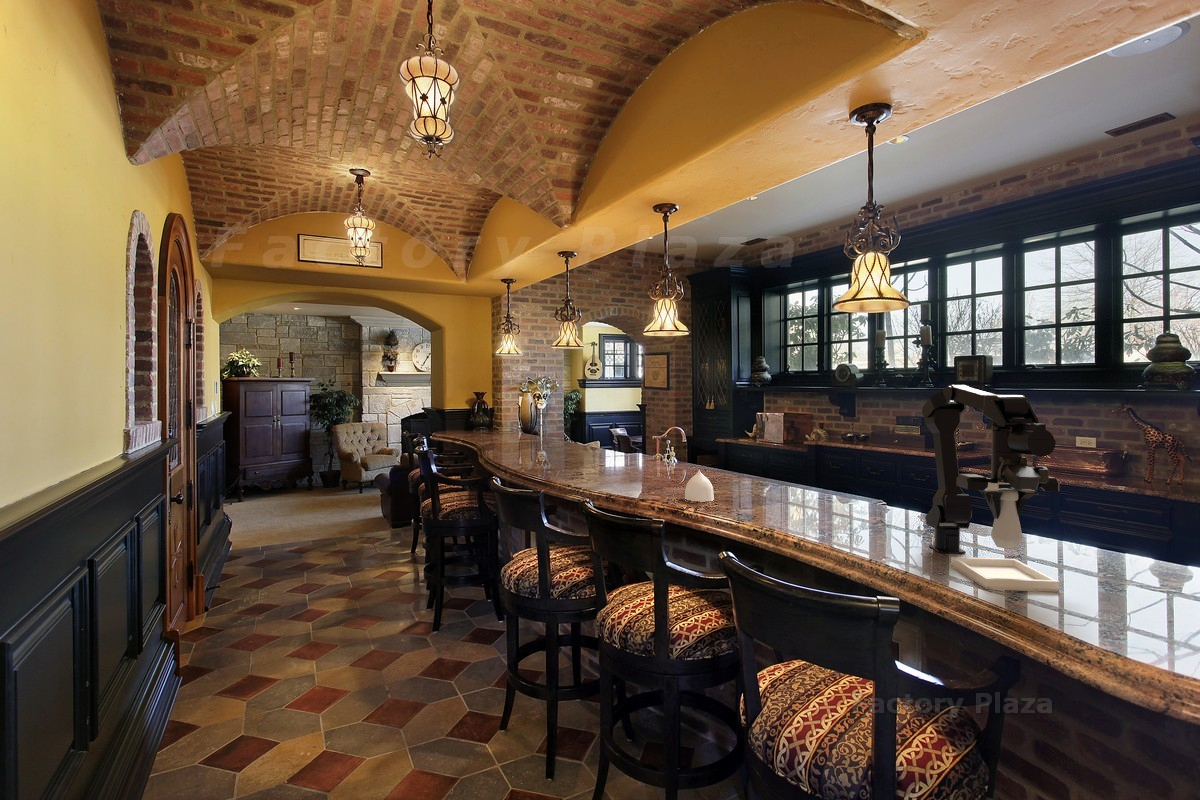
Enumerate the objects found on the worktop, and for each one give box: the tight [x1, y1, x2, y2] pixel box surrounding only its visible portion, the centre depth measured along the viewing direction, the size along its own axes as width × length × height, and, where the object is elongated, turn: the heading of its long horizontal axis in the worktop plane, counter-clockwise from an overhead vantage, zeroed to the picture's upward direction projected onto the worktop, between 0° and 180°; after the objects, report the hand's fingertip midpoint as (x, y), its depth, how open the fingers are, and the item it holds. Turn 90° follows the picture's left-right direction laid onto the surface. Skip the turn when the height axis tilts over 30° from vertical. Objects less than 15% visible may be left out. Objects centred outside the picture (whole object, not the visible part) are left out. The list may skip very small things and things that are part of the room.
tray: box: [950, 556, 1060, 593], centre depth 130 cm, size 16×14×2 cm
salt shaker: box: [990, 487, 1023, 550], centre depth 130 cm, size 6×6×13 cm
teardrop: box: [684, 469, 715, 502], centre depth 221 cm, size 11×11×12 cm
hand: (1006, 520), depth 130 cm, fingers closed on salt shaker, 3 cm apart
